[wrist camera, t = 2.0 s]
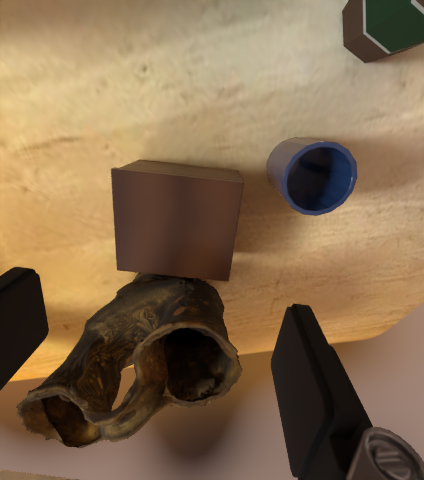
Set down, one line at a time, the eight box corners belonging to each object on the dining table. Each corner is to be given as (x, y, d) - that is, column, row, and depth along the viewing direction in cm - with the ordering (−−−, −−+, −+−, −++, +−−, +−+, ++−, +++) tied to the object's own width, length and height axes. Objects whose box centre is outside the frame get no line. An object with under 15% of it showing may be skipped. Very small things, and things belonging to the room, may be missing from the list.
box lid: (119, 266, 30) (116, 270, 29) (113, 167, 25) (110, 168, 25) (228, 277, 30) (228, 281, 30) (243, 181, 26) (243, 182, 25)
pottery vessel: (118, 345, 45) (50, 493, 27) (76, 301, 41) (-36, 439, 23) (245, 288, 39) (267, 428, 21) (209, 231, 35) (199, 342, 17)
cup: (272, 134, 30) (291, 137, 22) (327, 140, 30) (368, 146, 22) (261, 190, 33) (275, 211, 25) (312, 195, 33) (343, 218, 25)
